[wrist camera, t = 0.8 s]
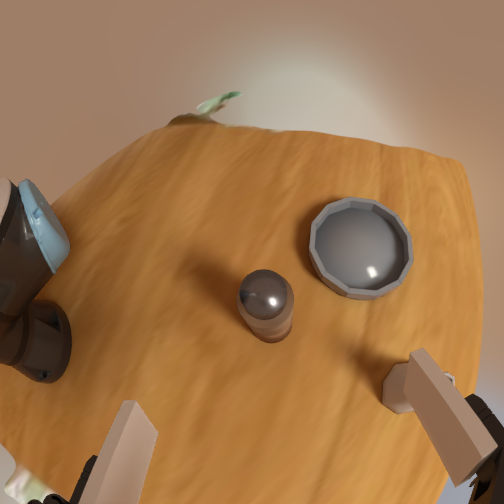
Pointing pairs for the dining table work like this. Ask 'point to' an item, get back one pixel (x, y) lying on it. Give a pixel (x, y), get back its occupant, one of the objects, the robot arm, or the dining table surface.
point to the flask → (399, 389)
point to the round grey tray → (360, 248)
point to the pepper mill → (266, 305)
